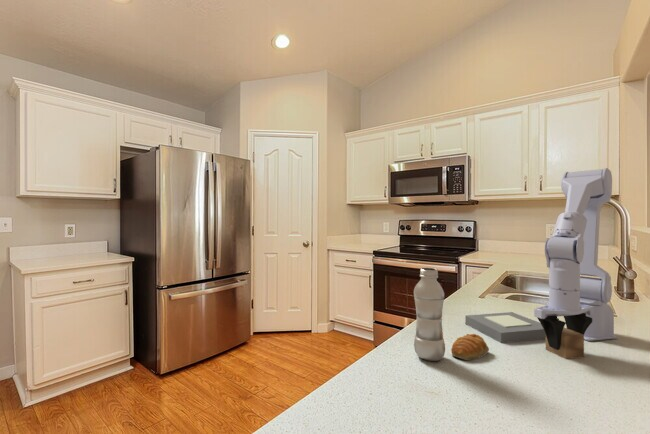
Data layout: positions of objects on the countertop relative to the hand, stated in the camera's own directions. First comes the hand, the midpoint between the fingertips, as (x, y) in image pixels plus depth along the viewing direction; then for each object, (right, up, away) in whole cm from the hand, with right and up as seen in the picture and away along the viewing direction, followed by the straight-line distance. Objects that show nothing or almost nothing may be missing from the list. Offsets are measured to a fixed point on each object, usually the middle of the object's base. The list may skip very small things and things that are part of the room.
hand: (564, 346), depth 72 cm
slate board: (-5, -1, +14) cm, 15 cm away
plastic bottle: (-32, -2, -2) cm, 32 cm away
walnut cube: (0, -1, 0) cm, 1 cm away
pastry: (-22, -2, 0) cm, 22 cm away
